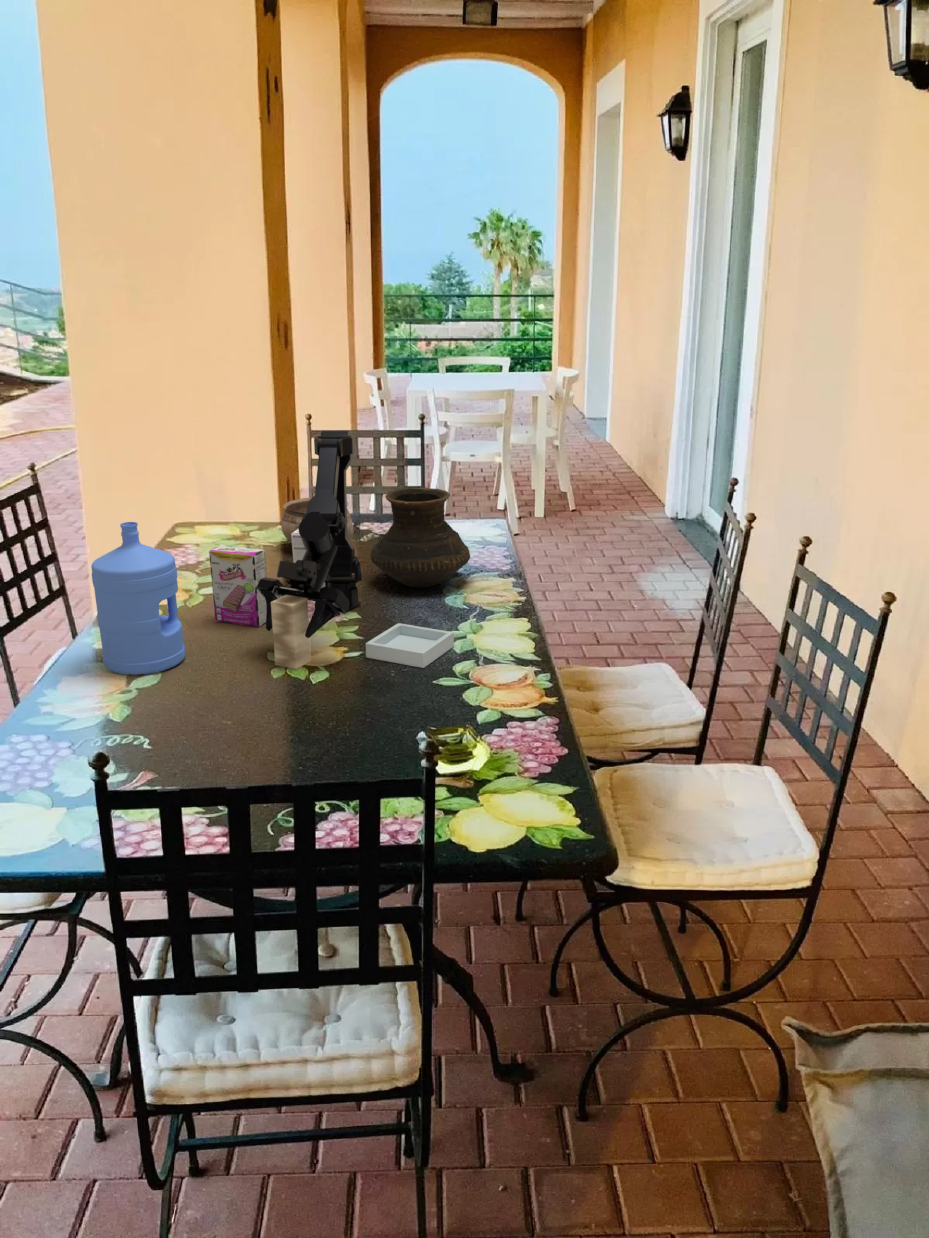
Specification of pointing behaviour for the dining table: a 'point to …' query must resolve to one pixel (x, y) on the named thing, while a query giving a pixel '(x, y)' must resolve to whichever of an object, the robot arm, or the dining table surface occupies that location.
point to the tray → (410, 645)
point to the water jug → (137, 607)
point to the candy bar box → (238, 585)
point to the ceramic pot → (419, 539)
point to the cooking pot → (300, 517)
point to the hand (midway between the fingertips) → (287, 633)
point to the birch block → (290, 631)
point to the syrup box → (298, 547)
